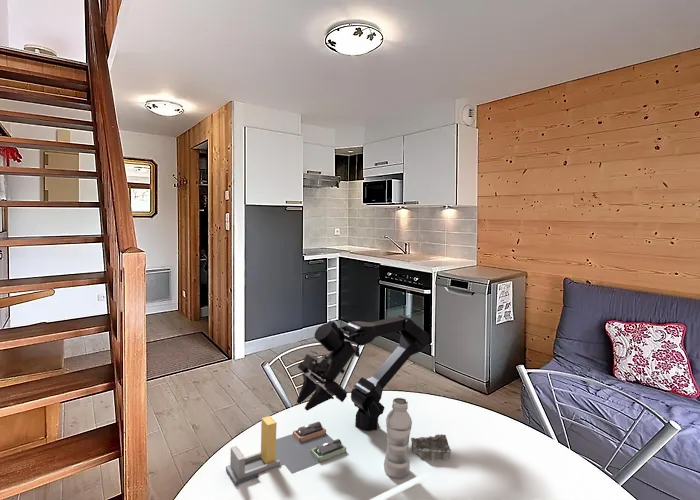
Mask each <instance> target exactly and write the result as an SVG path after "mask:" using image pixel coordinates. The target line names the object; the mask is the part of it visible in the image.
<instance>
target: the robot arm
mask: <svg viewBox="0 0 700 500" xmlns="http://www.w3.org/2000/svg"><path fill="white" fill-rule="evenodd" d="M398 332H399V333H400V334H401V335H400V339H399V345H398V346H397V347H396V348H395V349H394V350H393V351H392V353H391V354H390V355H389V356H388V357H387V359H386V360H385V361H384V362H382V364H381V366H379V367H378V369H377V370H376V371H375V372H374V373H373V374H372V376H370V377H369V378H365V377H361V378H360V379H358V382H356V384H354V385H353V388H352V390H351V391H350V399H351V402H353V404H354V407H356V408H358V409H357V411H356V414H355V423H354V424H355V425H354V427H355V428H357V429H359V430H362V431H365V432H373V431H378V428H379V425H380V424H379V417H380V416H381V415H383V413H384V411H385V409H386V407H385V406H384V405H383V404H382V403H381V402H380V401H381V399H382V395H383V390H384V389H385V387H386V386H387V385H388V383H389V382H390V381H391V380H392V379H393V377H394V376H395V375H396V374H397V373H398V371H399V370H400V369H401V368H402V367H403V365H405V363H406V362H407V361H408V360H409V358H410V357H411V356H413V355H415V354H418V353H421V352H422V351H423V350H424V349H425V348H426V347H427V346H429V343H430V335H429V333H428V332H427V331H425V330H424V329H423V328H421V327H420V326H419V325H417V324H416V323H415V322H414V321H413V320H412V318H410V317H407V316H405V315H397V316H394V317H389V318H384V319H380V320H376V321H370V322H368V321H357V320H356V321H350V322H348V323H347V324H346V325H343V326H341V327H339V326H338V325H337V324H336V322H335V321H333V320H331V319H330V320H329V321H328V322H327V323H323V324H322V325H320V326H319V327H317V329H316V330H315V332H314V339H315V340H316V341H317V342H318V343H319V344H320V345H321V346H322V347H323V348H324V349H325V350H326V351H328V352H329V354H328V355H326V354H323V355H322V356H320V357H319V356H315V355H312V354H310V353H306V354H305V356H304V358H303V361H301V362H300V363H299V364H298V365H297V369H298V370H300V371H301V372H302V373H301V375H302V378H303V380H302V381H303V382H302V385H301V386H302V387H301V389H300V392H299V395H298V397H297V400H296V403H298V404H299V405H300V404H301V403H303V402H304V401H305V400H306V399H307V398H309V397H310V396H311V397H310V399H309V400H308V401H307V403H306V405H305V407H304V410H305V411H307V412H308V411H310V410H311V409H313V408H315V407H318V406H319V405H321V404H323V403H325V402H327V401H329V400H334V399H335V398H336V399H338V400H339V401H340V402H341V403H344V401H345V400H346V399H347V397H348V395H347V393H348V392H347V390H345V389H344V388H343V387H342V385H340V384H339V383H338V382H336V381H335V380H336V379H337V378H338V376H339V375H340V373H341V374H342V375H344V373H345V372H346V370H344V368H345V367H346V365H347V364H348V363H349V361H350V360H351V359H352V357H353V356H355V357H357V358H360V356H361V355H360V347H359V346H361V347H362V346H365V345H367V344H370V343H372V342H373V341H374V340H375V339H376V338H378V337H382V336H385V335H389V334H393V333H398ZM345 340H346V341H345ZM352 343H354V344H355V345H353V344H352ZM317 382H318V383H317ZM320 384H321V385H320ZM334 396H335V397H334Z"/></svg>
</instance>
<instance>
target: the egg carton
mask: <svg viewBox="0 0 700 500" xmlns="http://www.w3.org/2000/svg"><path fill="white" fill-rule="evenodd" d="M410 442H411V448H410V449H411V450H413V454H415V456H417V457H418V458H419V459H421V460H423V459H424V458H428V459H430V460H431V461H435V460H436V459H437V458H438V459H441V460H442V461H447V459H449V458H450V457H451V453H452V449H451V448H450V445H449V442H448V439H447V435H446V434H441V433H440V434H435V435H434V436H432V435H429V436H426V437H424V436H422V437H421V436H420V437H416V438H415V437H410ZM418 447H419V448H418ZM438 447H440V448H442V449H443V450H441V449H439V450H438V449H437V448H438ZM430 448H432V449H434V450H432V449H430Z"/></svg>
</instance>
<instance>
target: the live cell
mask: <svg viewBox="0 0 700 500" xmlns="http://www.w3.org/2000/svg"><path fill="white" fill-rule="evenodd" d="M342 444H343V443H342V441H341V439H340V438H337V439H333V441H330V442H328V443H325V444H322V445H319V446H317V448H316V450H317V454H318V456H319V457H320V456H323V455H325V454H328V453H331V452H333V451H336V450H339V449H341V448H342Z"/></svg>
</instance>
